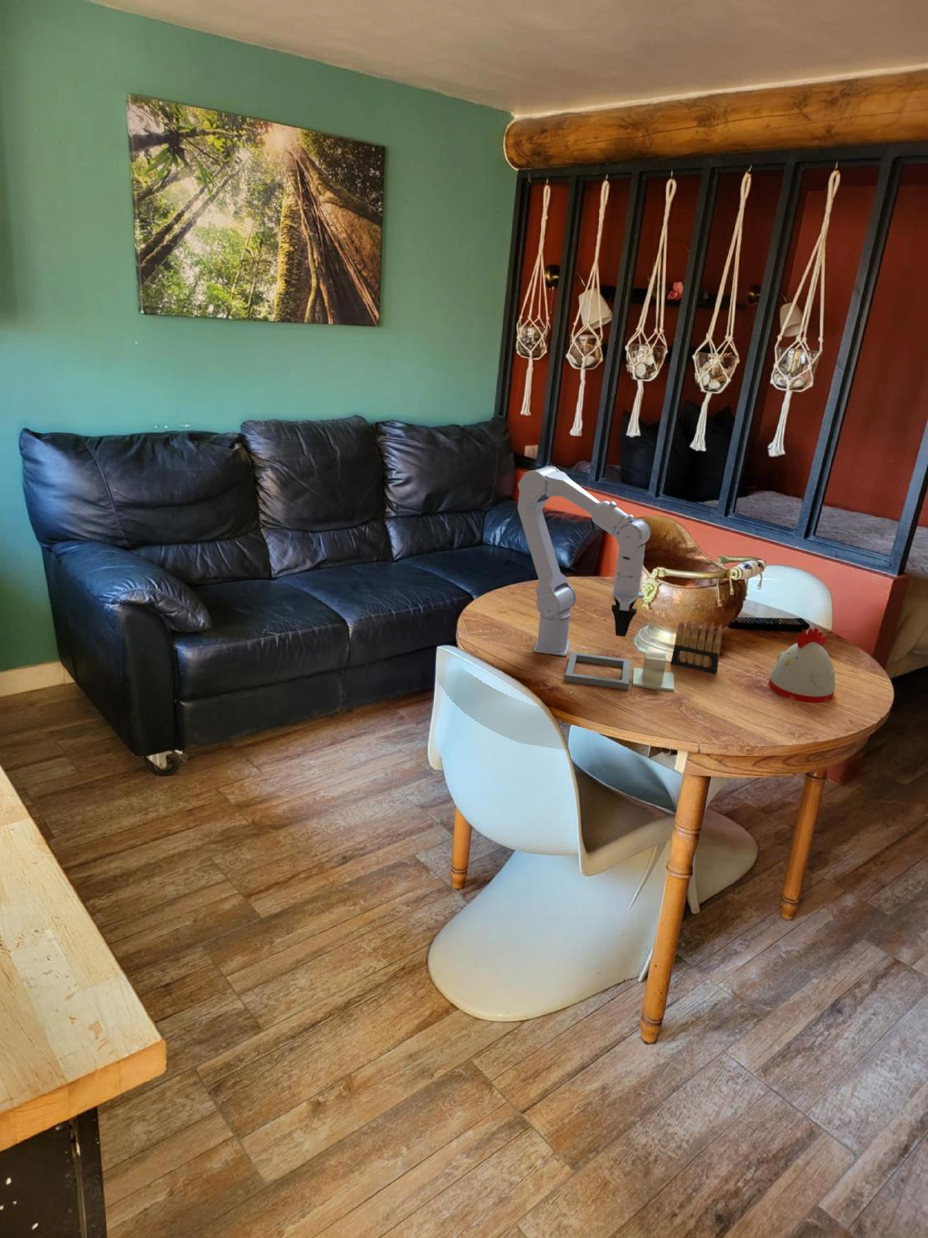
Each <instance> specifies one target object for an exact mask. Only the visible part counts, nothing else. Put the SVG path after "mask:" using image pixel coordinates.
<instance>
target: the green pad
mask: <svg viewBox="0 0 928 1238" xmlns="http://www.w3.org/2000/svg"><path fill="white" fill-rule="evenodd" d="M642 673H643V668H640V667H639V668H638V667H637V668H636V667H633V674H632V686H633V687H639V688H645V689H651V690H659V691H668V692H675V682H674V679H675V678H674V673H673V672H666V671H664V677H663V683H656V682H649V681H642Z"/></svg>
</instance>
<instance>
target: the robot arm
mask: <svg viewBox="0 0 928 1238" xmlns="http://www.w3.org/2000/svg"><path fill="white" fill-rule="evenodd" d="M517 486H518V490H519V494H518V502H517V511H518V514H519V518H520V522H521V525H522V529H523V531H524V534H525V539H526V542H527V545H528V548H529V551H530V554H531V558H532V562H533V565H534V569H535V572H536V575H537V578H538V581H537V584H536V587H535V593H536V609H537V611H538V612H539V619H538V620H539V621H538V622H539V624H538V632H537V640H536V642H535V646H534V648H533V653H538V654H539V653H541V654H545V655H546V654H547V655H556V656H562V657H567V655H568V652H569V647H570V643H571V641H570V640H568V639H569V638H568V637H569V629H570V619H571V618H570V617H571V608H573V607H574V605H575V603H576V601H577V594H576V591H575V589H574V588H573V587H572V586H571V584H570V583H569V579H568V577H566V575H564V574H563V573H562V572H561V569H560V566H559V563H558V559H557V556H556V552H555V550H554V546H553V542H552V538H551V536H550V532H549V529H548V525H547V523H546V520H545V515H544V513H543V510H544V507H545V505H546V504H547V502H548V500H549V499H550V498H551V497H553V498H554V497H561V498H564V499H566V500H567V501H569V502H571V503H572V504H574V505H575V506H577V507H579V508H581V509H582V510H584V511H585V512H587V513H588V514H590V516H591V520H592V522H593V523H594V524H595V525H597V526H598V527H599V528H601V529H602V530H603V531H606V532H607V533H608V534H609V535H611V536H612V537H614V538H615V540H616V543H617V545H618V554H617V560H616V561H617V562H616V570H615V576H614V577H615V578H614V584H613V590H612V593H611V594H612V597H613V598H614V603H615V604H611V612H612V614H613V618H614V626H615V627H614V629H615V630H614V631H615V636H617V637H626V636H627V633H628V631H629V627H630V623H631V621H632V620H633V618H634V617H635V615H636V614H637V612H638V609H637V608H633V607H634V605H635V603H636V601H637V600H638V599H644V598H645V597H644V596H645V593H644V592H640V589H641V580H642V574H643V566H644V560H645V552H646V551H645V549H646V543H647V542H648V541H649V540H650V538H651V535H652V533H651V527H650V526H649V524H648V523H647V522H646V521H645V520H644V519H642V518H635V516H634V515H633V514H628V513H626V512H625V511H623V510H622V509H620V508H619V507H617V506H618V503H616V502H615V501H609V500H604V501H600V500H598V499H597V498H595V497H594V496H593V495H592V494H591V493H589V492H588V491H587V490H585V489H584V488H583V487H581V486H580V485H579V484H577V483H576V482H575V481H574V480H572V479H571V478H570V477H569V476H568V474H567V473H566V472H564V471H560V470H559V469H558V468H557V467H555V466H553V465H546V466H544V467H542V468H541V467H540V468H538V469H534V470H528V471H526V472H525V473H524V474H523V475H522V477H521V478H520V480H519V482H518V484H517Z"/></svg>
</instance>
